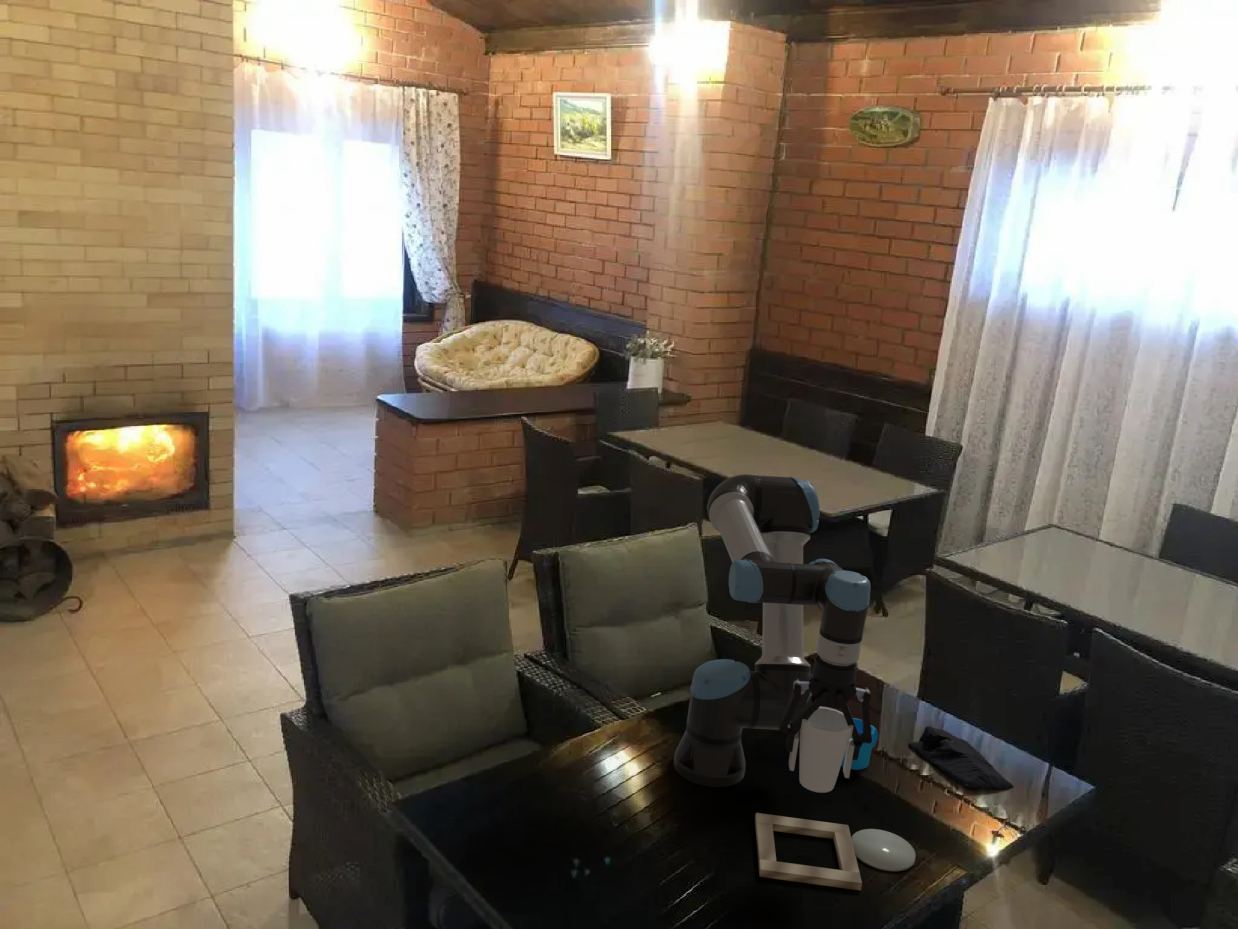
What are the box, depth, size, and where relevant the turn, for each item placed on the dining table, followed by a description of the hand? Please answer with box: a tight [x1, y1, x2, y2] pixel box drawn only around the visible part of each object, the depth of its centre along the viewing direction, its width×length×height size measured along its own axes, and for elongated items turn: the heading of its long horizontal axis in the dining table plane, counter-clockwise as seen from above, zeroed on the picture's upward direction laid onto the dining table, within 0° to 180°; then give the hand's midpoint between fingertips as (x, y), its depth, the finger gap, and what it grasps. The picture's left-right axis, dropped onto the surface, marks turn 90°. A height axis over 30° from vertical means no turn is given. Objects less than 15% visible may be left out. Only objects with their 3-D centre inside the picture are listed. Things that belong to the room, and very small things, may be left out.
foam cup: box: [798, 706, 853, 794], centre depth 187 cm, size 10×9×13 cm
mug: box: [841, 717, 879, 771], centre depth 228 cm, size 12×8×8 cm
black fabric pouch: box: [908, 726, 1014, 790], centre depth 230 cm, size 15×22×5 cm
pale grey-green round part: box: [851, 828, 916, 872], centre depth 195 cm, size 12×12×1 cm
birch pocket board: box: [754, 812, 863, 891], centre depth 192 cm, size 18×18×2 cm
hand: (818, 770), depth 188 cm, fingers closed on foam cup, 9 cm apart
